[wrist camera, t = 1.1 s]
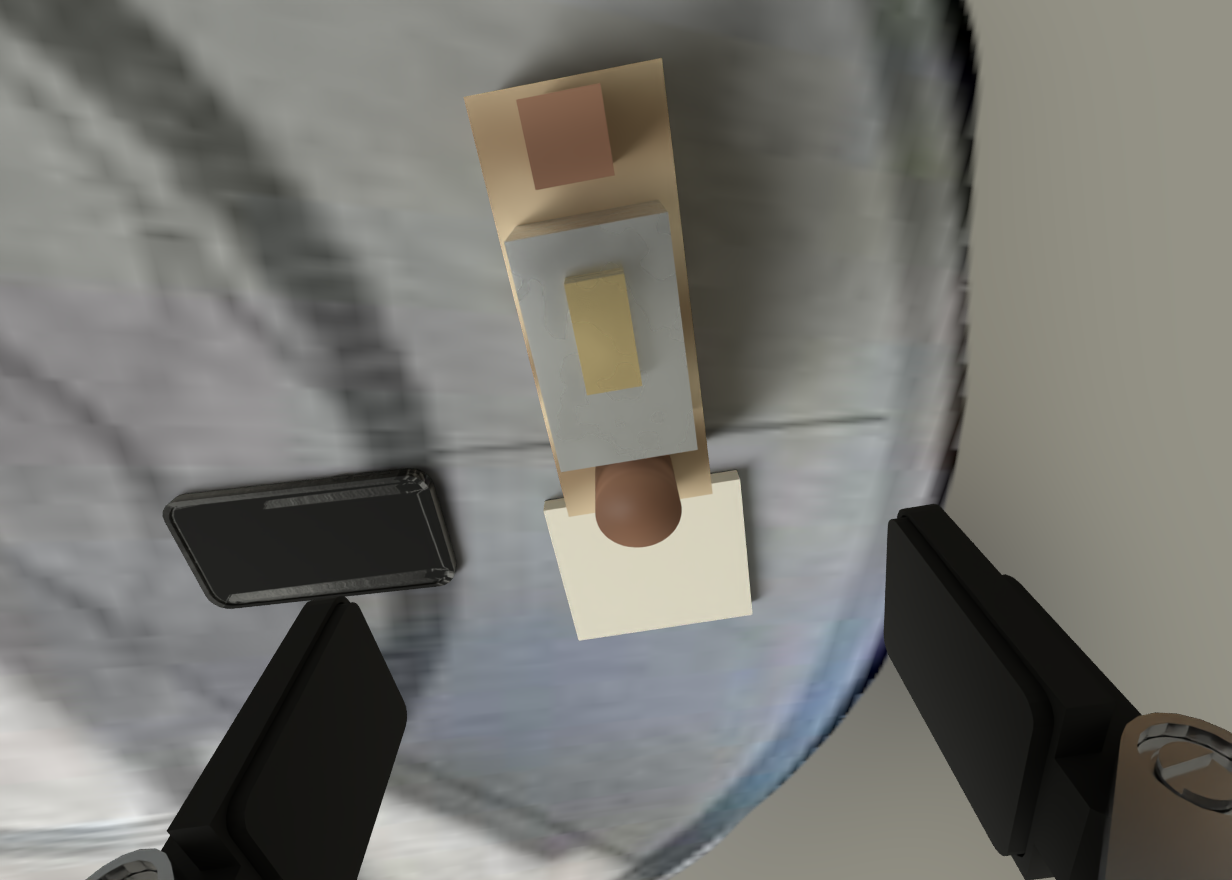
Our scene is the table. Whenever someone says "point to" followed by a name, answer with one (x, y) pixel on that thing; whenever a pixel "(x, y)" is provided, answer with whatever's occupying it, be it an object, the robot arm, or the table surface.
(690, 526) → the felt mat
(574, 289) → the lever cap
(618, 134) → the body
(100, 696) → the table surface
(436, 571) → the phone
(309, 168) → the table surface
